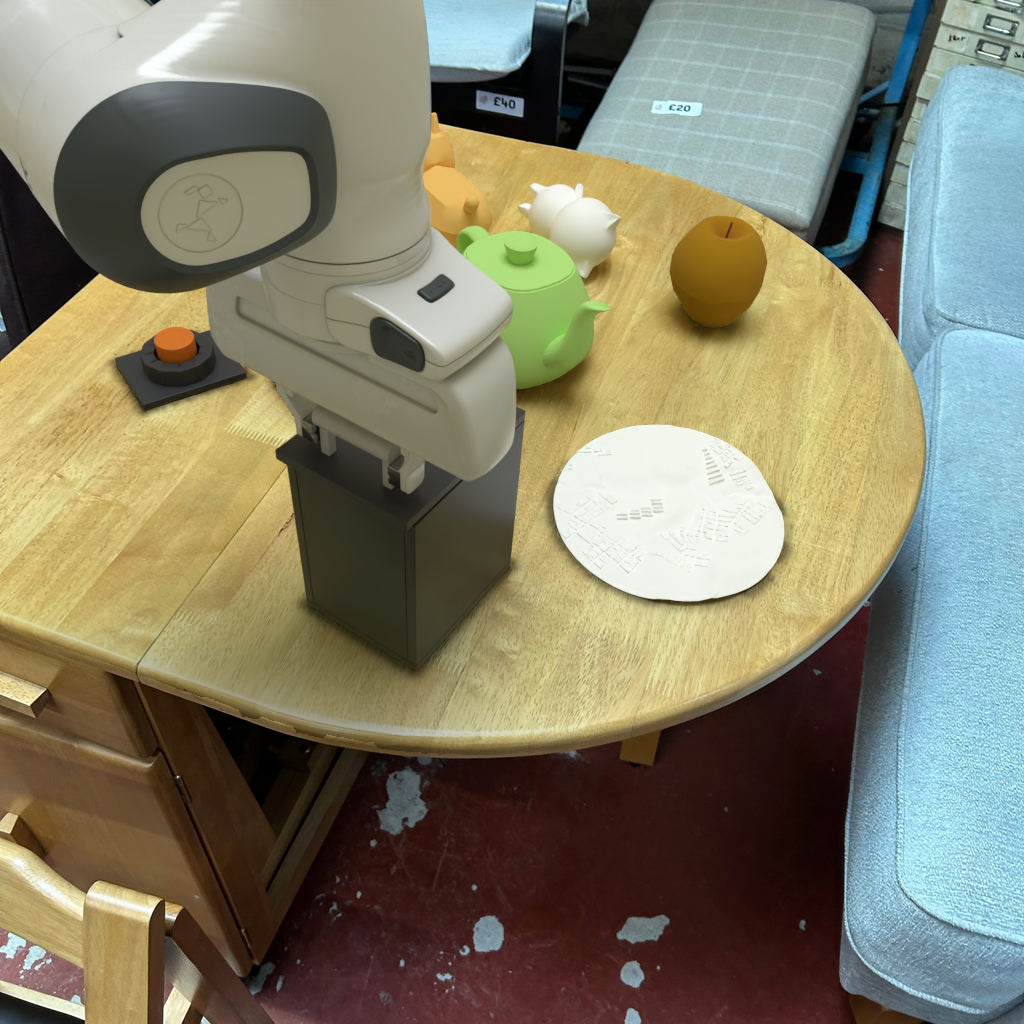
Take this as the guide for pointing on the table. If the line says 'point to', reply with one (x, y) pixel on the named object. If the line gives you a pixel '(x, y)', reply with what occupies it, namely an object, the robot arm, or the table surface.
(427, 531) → the lidded storage box
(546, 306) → the teapot
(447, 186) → the dog
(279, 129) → the robot arm
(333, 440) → the storage box lid
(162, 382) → the box
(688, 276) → the apple
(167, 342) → the button
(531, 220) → the cat figurine
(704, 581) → the plaque
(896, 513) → the table surface
